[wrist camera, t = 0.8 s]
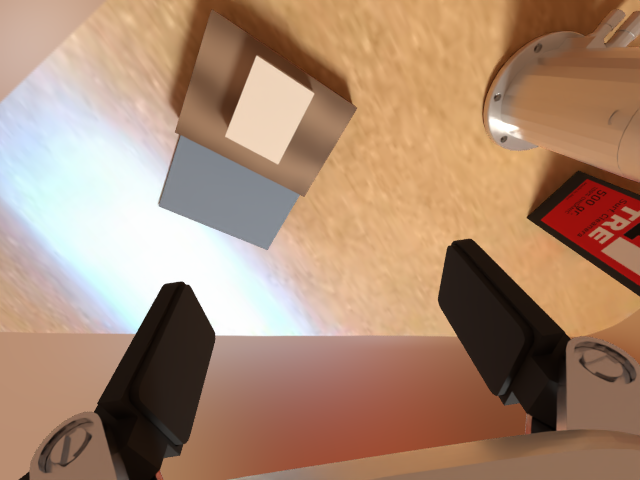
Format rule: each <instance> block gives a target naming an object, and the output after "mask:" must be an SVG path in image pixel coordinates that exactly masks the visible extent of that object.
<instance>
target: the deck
mask: <svg viewBox="0 0 640 480" xmlns="http://www.w3.org/2000/svg"><path fill="white" fill-rule="evenodd" d="M257 55H260V56H261V57H263V58H264V59H266V60H267V61H269V62H270V63H272V64H273V65H275V66H276V67H278V68H279V69H281V70H282V71H284V72H285V73H287V74H288V75H290V76H291V77H293V78H294V79H296V80H297V81H299V82H300V83H302V84H303V85H305V86H306V87H308V88H309V89H311V90H312V91H313V92H314V93H315V94H314V96H313V98H312V100H311V102H310V104H309V106H308V107H307V109H306V111H305V113H304V115H303V117H302V119H301V121H300V123H299V125H298V127H297V129H296V131H295V133H294V135H293V137H292V139H291V141H290V143H289V145H288V147H287V148H286V150H285V152H284V154H283V156H282V158H281V160H280V162H279V164H276V163H274V162H272V161H270V160H269V159H267V158H265V157H263V156H261V155H259V154H257V153H255V152H253V151H251V150H250V149H248V148H246V147H244V146H242V145H240V144H238V143H236V142H234V141H232V140H231V139H229V138H227V137H225V135H226V132H227V130H228V127H229V125H230V122H231V120H232V117H233V115H234V112H235V109H236V107H237V104H238V102H239V99H240V97H241V94H242V91H243V89H244V86H245V84H246V81H247V79H248V76H249V73H250V71H251V68H252V66H253V63H254V61H255V58H256V56H257ZM356 109H357V107H355V106H354V105H353V104H351V103H350V102H348V101H347V100H346V99H344V98H343V97H341V96H340V95H338V94H337V93H335V92H334V91H332V90H331V89H329V88H328V87H326V86H325V85H323V84H322V83H321V82H319V81H318V80H316V79H315V78H313V77H312V76H310V75H309V74H307V73H306V72H304V71H303V70H301V69H300V68H299V67H297V66H296V65H294V64H293V63H291V62H290V61H288V60H287V59H285V58H284V57H282V56H281V55H279V54H278V53H276V52H275V51H274V50H272V49H271V48H269V47H268V46H266V45H265V44H263V43H262V42H260V41H259V40H257V39H256V38H254V37H253V36H251V35H250V34H249V33H247V32H246V31H244V30H243V29H241V28H240V27H238V26H237V25H235V24H234V23H232V22H231V21H229V20H228V19H226V18H225V17H224V16H222V15H221V14H219V13H217V12H216V11H214V10H212V9H211V13H210V16H209V19H208V23H207V26H206V30H205V33H204V36H203V40H202V43H201V46H200V50H199V53H198V56H197V60H196V63H195V67H194V70H193V73H192V77H191V80H190V83H189V87H188V90H187V93H186V97H185V100H184V103H183V107H182V110H181V114H180V117H179V120H178V124H177V127H176V130H175V133H177V134H179V135H181V136H183V137H185V138H187V139H189V140H191V141H193V142H195V143H197V144H199V145H201V146H203V147H205V148H207V149H209V150H211V151H213V152H215V153H217V154H219V155H221V156H223V157H225V158H227V159H229V160H231V161H233V162H235V163H237V164H239V165H241V166H243V167H245V168H247V169H249V170H251V171H253V172H255V173H257V174H259V175H261V176H263V177H265V178H267V179H269V180H271V181H273V182H275V183H277V184H279V185H281V186H283V187H285V188H287V189H289V190H291V191H293V192H295V193H297V194H299V195H301V196H303V197H304V196H305V195H306V193H307V191H308V190H309V188H310V186H311V185H312V183H313V181H314V180H315V178H316V176H317V175H318V173H319V171H320V170H321V168H322V166H323V165H324V163H325V161H326V160H327V158H328V156H329V155H330V153H331V151H332V150H333V148H334V146H335V145H336V143H337V141H338V140H339V138H340V136H341V135H342V133H343V131H344V130H345V128H346V126H347V125H348V123H349V121H350V120H351V118H352V116H353V114H354V113H355V111H356Z"/></svg>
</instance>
